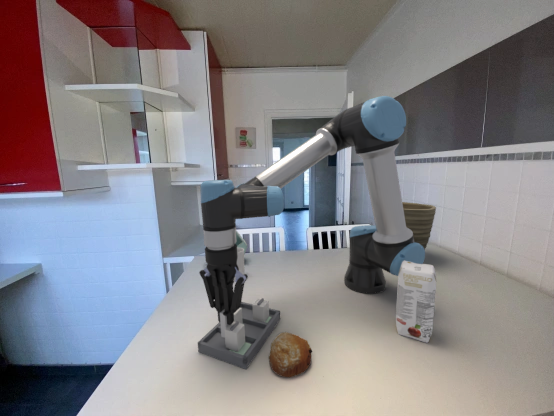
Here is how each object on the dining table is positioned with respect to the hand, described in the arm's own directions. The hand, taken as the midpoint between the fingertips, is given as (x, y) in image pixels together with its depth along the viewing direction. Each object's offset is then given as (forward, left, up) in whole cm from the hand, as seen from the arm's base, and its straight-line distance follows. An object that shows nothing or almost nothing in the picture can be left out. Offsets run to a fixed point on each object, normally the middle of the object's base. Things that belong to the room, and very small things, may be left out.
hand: (227, 333), depth 60 cm
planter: (+33, -46, -4) cm, 57 cm away
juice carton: (-44, -24, -4) cm, 50 cm away
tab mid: (+2, -6, -2) cm, 7 cm away
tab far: (-3, -12, -2) cm, 13 cm away
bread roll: (-16, -2, -4) cm, 17 cm away
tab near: (-2, 0, -2) cm, 3 cm away
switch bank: (-1, -6, -4) cm, 7 cm away
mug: (+22, -35, -4) cm, 42 cm away
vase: (-45, -80, -4) cm, 92 cm away
